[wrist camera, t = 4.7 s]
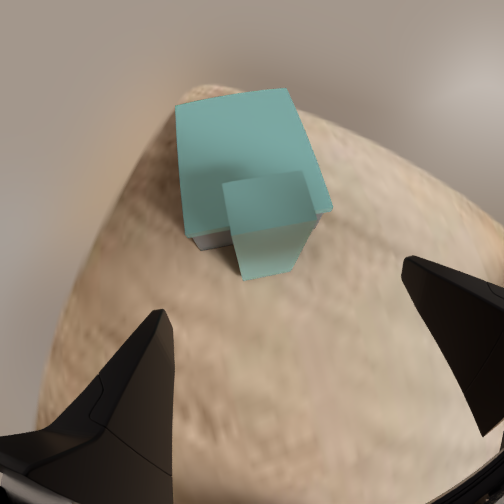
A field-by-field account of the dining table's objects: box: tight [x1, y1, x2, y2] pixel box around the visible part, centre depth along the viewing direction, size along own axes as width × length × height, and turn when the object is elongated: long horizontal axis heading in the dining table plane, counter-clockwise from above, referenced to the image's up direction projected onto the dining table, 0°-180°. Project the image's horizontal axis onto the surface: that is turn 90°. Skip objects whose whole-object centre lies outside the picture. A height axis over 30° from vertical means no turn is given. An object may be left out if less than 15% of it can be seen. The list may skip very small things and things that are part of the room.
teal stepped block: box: [175, 88, 333, 281], centre depth 17 cm, size 14×9×10 cm, turn 11°
